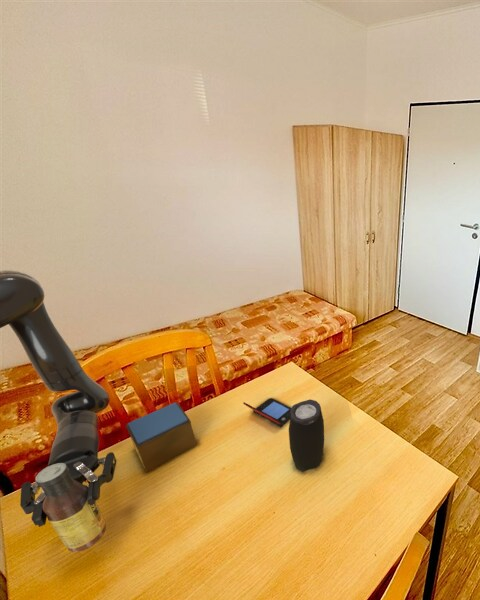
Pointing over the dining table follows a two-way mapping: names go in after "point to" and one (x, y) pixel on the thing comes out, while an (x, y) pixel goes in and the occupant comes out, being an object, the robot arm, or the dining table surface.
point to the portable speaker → (306, 434)
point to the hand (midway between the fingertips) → (66, 512)
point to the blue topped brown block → (165, 445)
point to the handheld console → (273, 411)
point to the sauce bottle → (70, 508)
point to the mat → (157, 423)
